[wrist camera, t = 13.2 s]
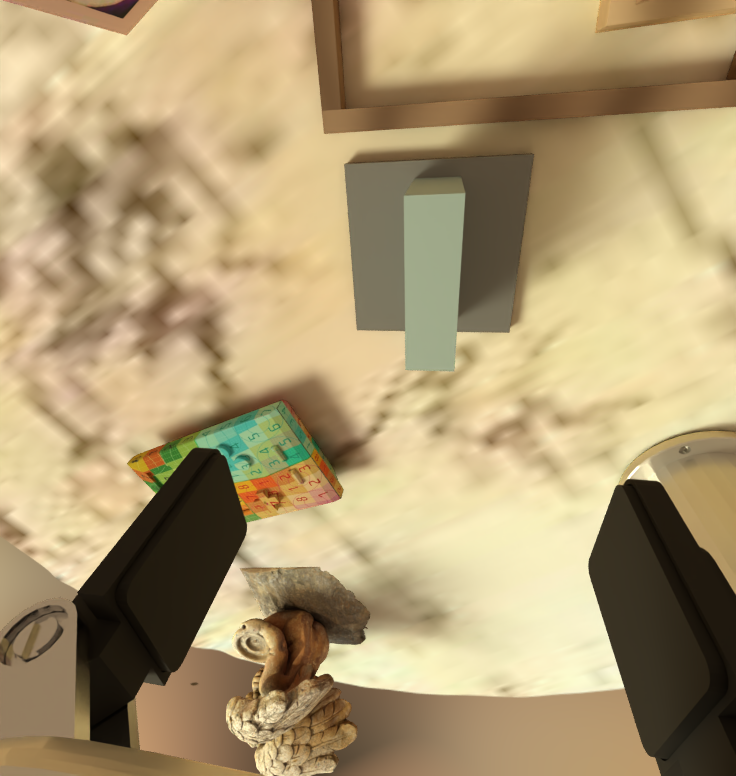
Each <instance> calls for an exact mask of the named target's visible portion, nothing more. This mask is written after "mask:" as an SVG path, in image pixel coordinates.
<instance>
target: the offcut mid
mask: <svg viewBox="0 0 736 776" xmlns="http://www.w3.org/2000/svg"><path fill="white" fill-rule="evenodd" d="M646 1H649V0H636V5H637V4H640V3H643V2H646Z"/></svg>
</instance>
